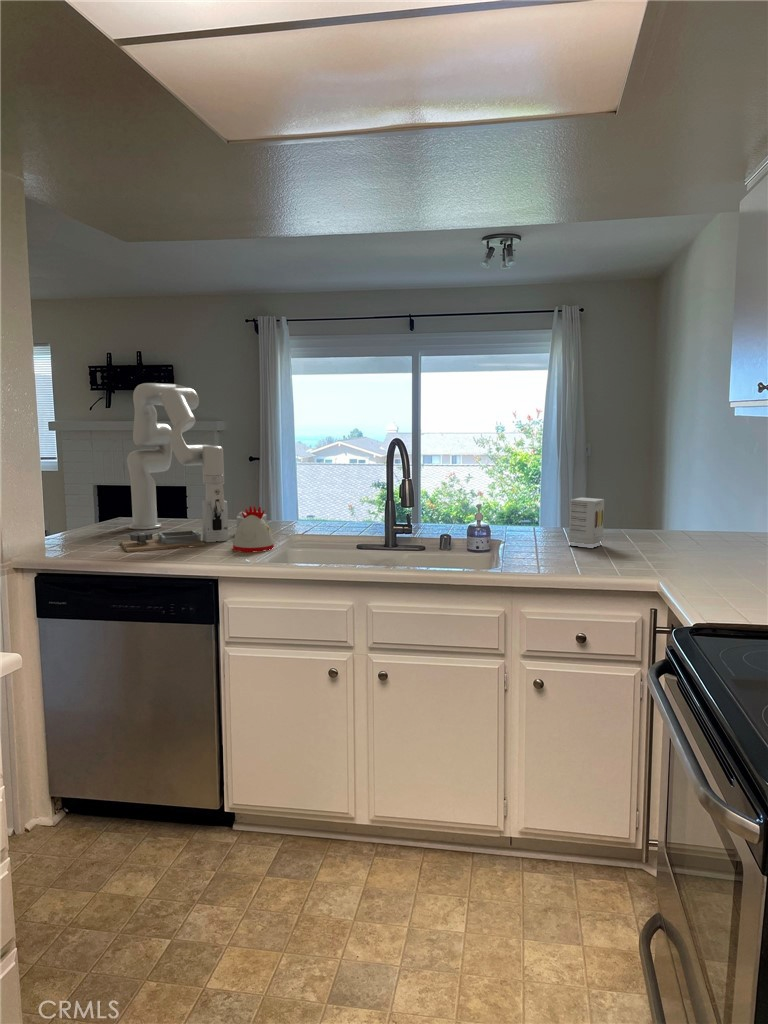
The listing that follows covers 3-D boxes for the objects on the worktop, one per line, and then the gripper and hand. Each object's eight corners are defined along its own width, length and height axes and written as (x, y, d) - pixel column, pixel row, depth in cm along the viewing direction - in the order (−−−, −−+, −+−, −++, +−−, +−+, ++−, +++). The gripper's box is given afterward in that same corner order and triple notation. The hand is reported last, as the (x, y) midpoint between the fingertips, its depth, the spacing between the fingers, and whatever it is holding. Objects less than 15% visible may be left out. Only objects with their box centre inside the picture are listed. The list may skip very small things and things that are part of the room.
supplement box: (592, 549, 248) (595, 501, 246) (567, 546, 254) (569, 499, 251) (602, 545, 256) (605, 498, 253) (578, 542, 261) (580, 496, 259)
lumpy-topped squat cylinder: (269, 532, 283) (269, 510, 282) (256, 537, 270) (256, 515, 269) (245, 531, 285) (244, 509, 284) (231, 536, 273) (230, 514, 272)
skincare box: (206, 542, 259) (204, 502, 257) (202, 540, 264) (200, 500, 262) (229, 540, 263) (227, 500, 261) (224, 538, 268) (223, 499, 266)
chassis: (120, 543, 258) (120, 531, 257) (194, 537, 269) (193, 526, 269) (126, 552, 242) (126, 539, 241) (204, 546, 253) (204, 533, 253)
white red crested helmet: (265, 553, 241) (264, 509, 239) (226, 551, 244) (225, 508, 242) (279, 545, 255) (278, 503, 253) (242, 544, 257) (241, 502, 255)
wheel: (129, 538, 254) (129, 532, 253) (150, 536, 257) (150, 531, 257) (131, 541, 247) (131, 536, 247) (153, 540, 251) (153, 534, 250)
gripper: (229, 481, 255) (231, 531, 257) (218, 477, 270) (219, 524, 273) (208, 482, 251) (210, 533, 254) (198, 478, 267) (199, 526, 269)
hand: (215, 528), depth 263 cm, fingers closed on skincare box, 6 cm apart
